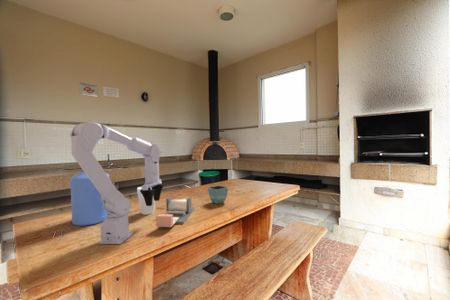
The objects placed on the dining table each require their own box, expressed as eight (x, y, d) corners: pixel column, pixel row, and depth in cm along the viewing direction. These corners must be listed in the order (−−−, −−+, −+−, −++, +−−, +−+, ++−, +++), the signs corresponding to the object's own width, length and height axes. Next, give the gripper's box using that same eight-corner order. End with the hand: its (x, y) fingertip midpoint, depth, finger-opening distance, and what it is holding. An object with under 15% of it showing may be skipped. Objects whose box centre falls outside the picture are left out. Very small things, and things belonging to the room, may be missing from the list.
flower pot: (219, 199, 128) (219, 185, 128) (228, 202, 121) (228, 187, 121) (207, 202, 123) (207, 187, 122) (216, 205, 116) (215, 189, 115)
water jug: (117, 217, 100) (115, 159, 99) (80, 229, 87) (77, 162, 86) (101, 212, 108) (99, 159, 107) (65, 222, 95) (63, 161, 94)
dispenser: (183, 223, 90) (182, 205, 90) (156, 223, 91) (156, 205, 91) (194, 209, 110) (194, 194, 110) (172, 209, 111) (172, 194, 111)
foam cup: (150, 216, 101) (150, 189, 100) (134, 215, 103) (133, 189, 102) (160, 210, 110) (160, 185, 110) (145, 209, 112) (144, 185, 111)
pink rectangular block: (171, 227, 84) (170, 216, 84) (156, 226, 84) (156, 216, 84) (179, 218, 94) (178, 208, 93) (166, 218, 94) (165, 208, 94)
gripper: (153, 174, 82) (154, 208, 82) (167, 169, 96) (168, 198, 97) (136, 174, 83) (137, 208, 83) (152, 169, 97) (153, 198, 98)
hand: (153, 203), depth 90 cm, fingers open, 7 cm apart
